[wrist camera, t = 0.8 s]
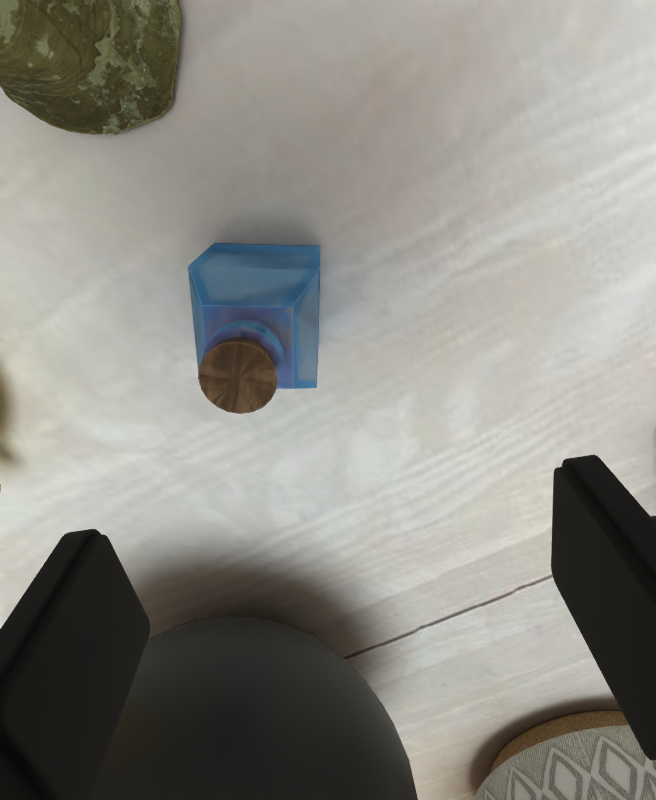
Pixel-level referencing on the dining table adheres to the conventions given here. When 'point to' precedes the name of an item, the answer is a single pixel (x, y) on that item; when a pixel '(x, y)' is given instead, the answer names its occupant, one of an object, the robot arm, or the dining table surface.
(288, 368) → the perfume bottle
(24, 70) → the olive green rounded lump
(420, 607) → the dining table surface
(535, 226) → the dining table surface
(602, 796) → the planter
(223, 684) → the ball
